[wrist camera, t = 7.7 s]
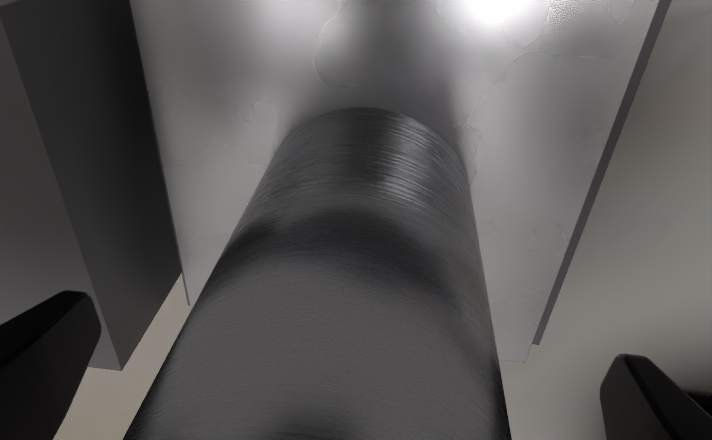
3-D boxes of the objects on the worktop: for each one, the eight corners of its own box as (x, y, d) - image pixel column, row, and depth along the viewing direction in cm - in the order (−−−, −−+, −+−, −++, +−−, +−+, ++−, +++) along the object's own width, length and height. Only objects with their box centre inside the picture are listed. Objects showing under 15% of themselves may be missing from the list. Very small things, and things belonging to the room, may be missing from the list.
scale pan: (639, -14, 10) (661, -5, 9) (519, 336, 15) (524, 362, 15) (144, -49, 10) (121, -43, 9) (205, 301, 16) (193, 324, 15)
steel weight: (490, 118, 10) (610, 517, 4) (452, 292, 13) (485, 692, 7) (258, 97, 11) (6, 437, 4) (270, 272, 14) (130, 637, 7)
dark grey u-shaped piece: (658, -80, 11) (843, -48, 6) (528, 302, 18) (568, 460, 13) (-10, -121, 12) (-299, -122, 7) (107, 257, 19) (-2, 388, 14)
